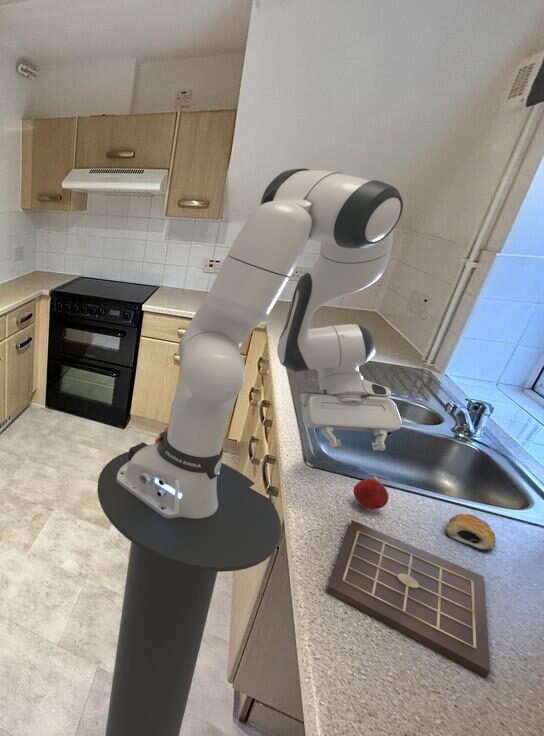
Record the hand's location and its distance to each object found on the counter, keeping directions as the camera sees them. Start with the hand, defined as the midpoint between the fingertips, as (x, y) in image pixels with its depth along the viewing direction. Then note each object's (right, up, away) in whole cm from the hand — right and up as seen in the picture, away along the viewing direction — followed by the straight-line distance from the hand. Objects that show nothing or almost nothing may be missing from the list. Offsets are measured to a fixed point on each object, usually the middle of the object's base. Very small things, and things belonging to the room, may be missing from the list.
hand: (357, 448), depth 93 cm
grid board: (-9, -19, -22) cm, 30 cm away
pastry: (+14, -15, -10) cm, 23 cm away
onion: (-1, -12, -3) cm, 13 cm away
